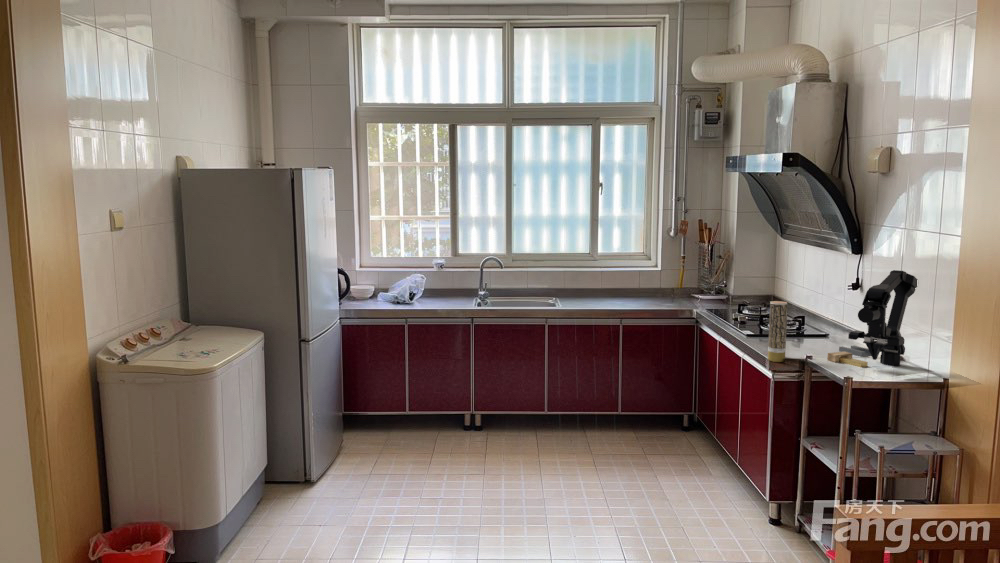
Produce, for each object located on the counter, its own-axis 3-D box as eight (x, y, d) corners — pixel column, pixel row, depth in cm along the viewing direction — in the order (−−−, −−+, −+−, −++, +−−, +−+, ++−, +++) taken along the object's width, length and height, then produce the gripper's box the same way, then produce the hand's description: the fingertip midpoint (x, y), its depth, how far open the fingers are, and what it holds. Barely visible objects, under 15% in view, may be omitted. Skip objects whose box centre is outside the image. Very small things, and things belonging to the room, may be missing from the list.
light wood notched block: (851, 364, 287) (852, 353, 287) (834, 366, 284) (835, 355, 284) (844, 362, 291) (844, 351, 290) (827, 364, 288) (827, 353, 287)
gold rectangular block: (867, 370, 277) (867, 361, 277) (860, 371, 276) (861, 362, 275) (842, 364, 288) (842, 356, 288) (835, 365, 287) (836, 356, 286)
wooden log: (786, 362, 290) (789, 303, 287) (769, 362, 291) (771, 303, 289) (783, 359, 297) (785, 301, 294) (766, 358, 298) (768, 301, 295)
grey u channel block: (876, 358, 298) (876, 350, 297) (861, 360, 295) (861, 352, 295) (853, 353, 309) (854, 345, 309) (838, 354, 306) (839, 346, 306)
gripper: (911, 320, 267) (909, 360, 269) (861, 315, 282) (859, 353, 283) (899, 324, 260) (897, 364, 262) (848, 318, 275) (846, 356, 276)
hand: (874, 359), depth 271 cm, fingers closed
